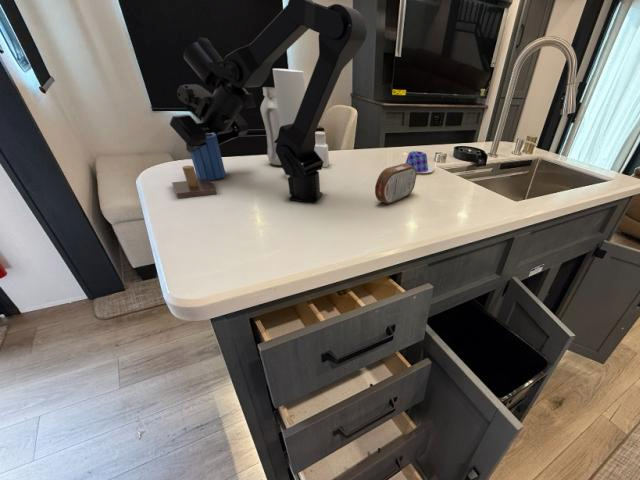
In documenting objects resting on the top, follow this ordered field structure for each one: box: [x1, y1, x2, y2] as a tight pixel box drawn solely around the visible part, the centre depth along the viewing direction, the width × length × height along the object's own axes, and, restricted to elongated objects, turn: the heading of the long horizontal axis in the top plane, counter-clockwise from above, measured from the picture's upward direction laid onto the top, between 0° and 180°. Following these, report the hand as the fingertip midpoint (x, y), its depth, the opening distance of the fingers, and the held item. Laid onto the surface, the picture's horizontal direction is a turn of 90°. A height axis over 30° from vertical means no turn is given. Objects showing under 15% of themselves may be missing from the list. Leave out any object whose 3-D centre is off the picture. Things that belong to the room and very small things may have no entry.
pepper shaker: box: [314, 131, 330, 168], centre depth 100 cm, size 4×4×10 cm
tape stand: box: [171, 165, 217, 199], centre depth 76 cm, size 8×8×6 cm
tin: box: [374, 162, 418, 205], centre depth 82 cm, size 15×3×8 cm, turn 145°
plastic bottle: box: [259, 86, 282, 166], centre depth 94 cm, size 6×7×20 cm
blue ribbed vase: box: [189, 133, 227, 181], centre depth 83 cm, size 7×7×10 cm
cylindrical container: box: [272, 68, 306, 179], centre depth 85 cm, size 7×7×25 cm
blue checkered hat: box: [398, 150, 435, 174], centre depth 107 cm, size 12×12×5 cm
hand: (200, 148), depth 83 cm, fingers closed on blue ribbed vase, 7 cm apart
